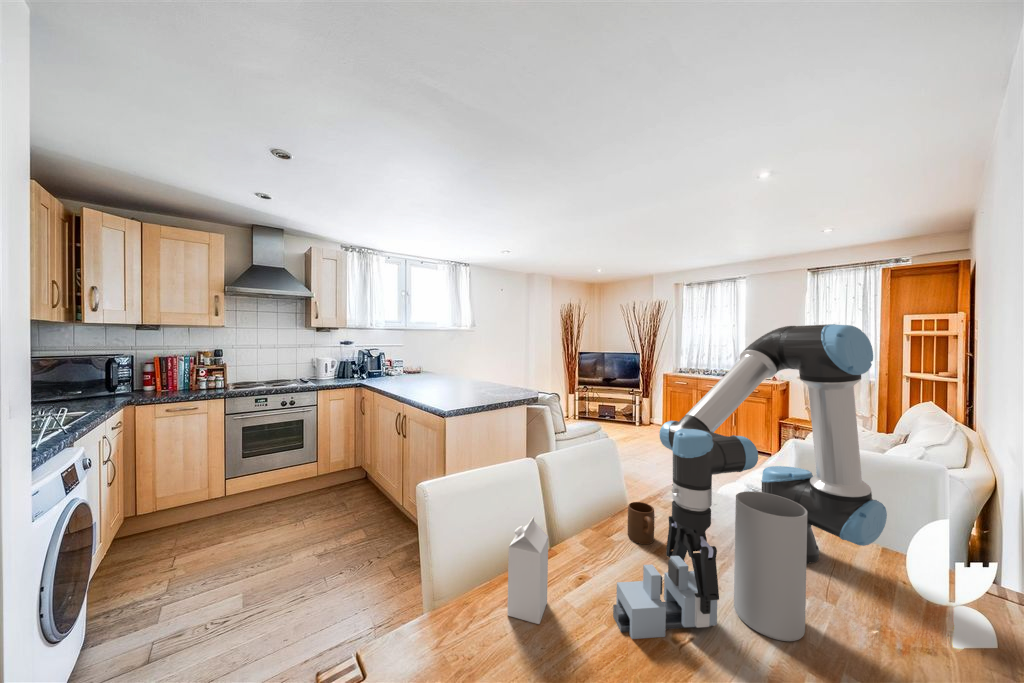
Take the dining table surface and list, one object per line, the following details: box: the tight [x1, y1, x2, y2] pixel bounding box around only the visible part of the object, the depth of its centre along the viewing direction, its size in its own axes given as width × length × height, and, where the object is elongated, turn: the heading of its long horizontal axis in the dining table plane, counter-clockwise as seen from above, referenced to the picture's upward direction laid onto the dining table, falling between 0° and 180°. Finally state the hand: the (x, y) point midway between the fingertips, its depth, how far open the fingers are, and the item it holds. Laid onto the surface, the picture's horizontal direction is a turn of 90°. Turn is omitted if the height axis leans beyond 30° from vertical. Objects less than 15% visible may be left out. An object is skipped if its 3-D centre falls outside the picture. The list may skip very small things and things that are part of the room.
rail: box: [612, 601, 695, 633], centre depth 77 cm, size 20×4×3 cm, turn 96°
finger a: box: [615, 564, 666, 640], centre depth 77 cm, size 8×8×11 cm
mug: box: [627, 501, 655, 545], centre depth 108 cm, size 12×8×9 cm, turn 2°
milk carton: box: [507, 515, 549, 625], centre depth 80 cm, size 7×7×19 cm
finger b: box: [663, 556, 718, 628], centre depth 78 cm, size 8×8×11 cm
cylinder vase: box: [733, 490, 807, 642], centre depth 78 cm, size 12×12×25 cm
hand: (689, 609), depth 78 cm, fingers closed on finger b, 8 cm apart
